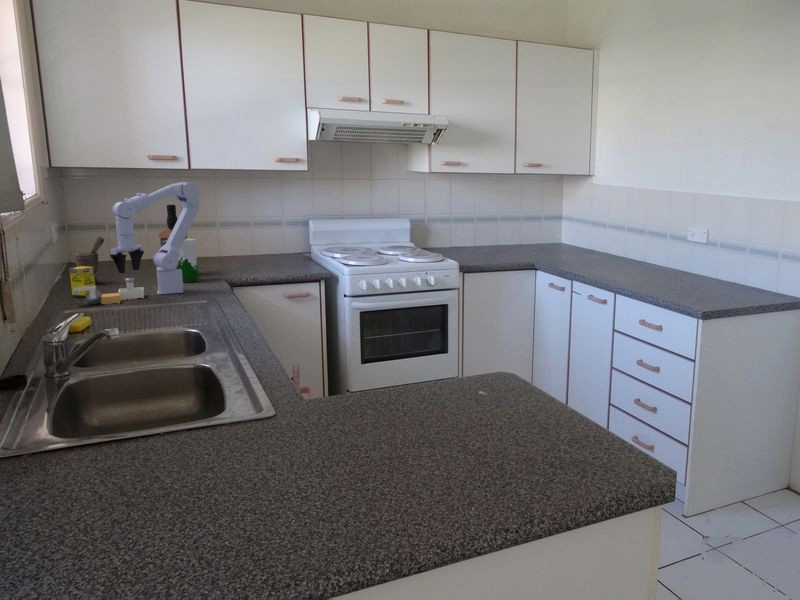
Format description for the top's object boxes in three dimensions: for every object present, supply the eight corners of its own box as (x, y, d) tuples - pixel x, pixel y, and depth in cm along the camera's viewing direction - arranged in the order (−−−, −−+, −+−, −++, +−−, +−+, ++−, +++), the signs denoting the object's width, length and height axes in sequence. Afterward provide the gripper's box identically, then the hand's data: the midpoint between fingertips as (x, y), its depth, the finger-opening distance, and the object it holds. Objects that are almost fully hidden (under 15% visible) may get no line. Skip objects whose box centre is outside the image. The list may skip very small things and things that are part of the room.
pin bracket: (116, 297, 230) (116, 293, 230) (116, 299, 226) (115, 295, 225) (103, 298, 228) (103, 294, 228) (102, 300, 224) (102, 296, 224)
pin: (135, 294, 232) (133, 277, 230) (136, 296, 229) (134, 278, 228) (126, 295, 230) (124, 278, 229) (127, 297, 227) (125, 279, 226)
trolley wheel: (102, 301, 222) (101, 285, 221) (101, 304, 217) (99, 287, 216) (77, 303, 219) (75, 286, 218) (75, 306, 214) (73, 289, 213)
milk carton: (172, 281, 263) (168, 234, 259) (192, 278, 269) (188, 233, 265) (182, 283, 257) (178, 236, 253) (202, 281, 263) (198, 234, 259)
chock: (120, 301, 224) (120, 293, 224) (120, 304, 220) (119, 295, 219) (102, 302, 222) (101, 294, 222) (102, 305, 218) (101, 297, 217)
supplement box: (85, 297, 230) (82, 268, 228) (72, 297, 231) (68, 268, 229) (96, 294, 236) (93, 266, 233) (83, 293, 237) (79, 266, 235)
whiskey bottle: (193, 276, 276) (187, 204, 270) (173, 279, 269) (167, 205, 262) (179, 273, 282) (173, 203, 276) (160, 276, 275) (153, 204, 268)
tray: (144, 294, 234) (143, 287, 234) (143, 298, 228) (143, 290, 227) (119, 296, 231) (119, 288, 231) (118, 300, 225) (118, 292, 224)
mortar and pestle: (109, 281, 264) (104, 235, 259) (108, 284, 256) (103, 237, 252) (79, 283, 259) (73, 236, 255) (77, 286, 251) (72, 238, 247)
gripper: (120, 237, 217) (124, 274, 220) (147, 233, 231) (151, 268, 233) (104, 236, 219) (108, 274, 222) (132, 232, 233) (135, 268, 235)
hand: (129, 271), depth 228 cm, fingers open, 7 cm apart
